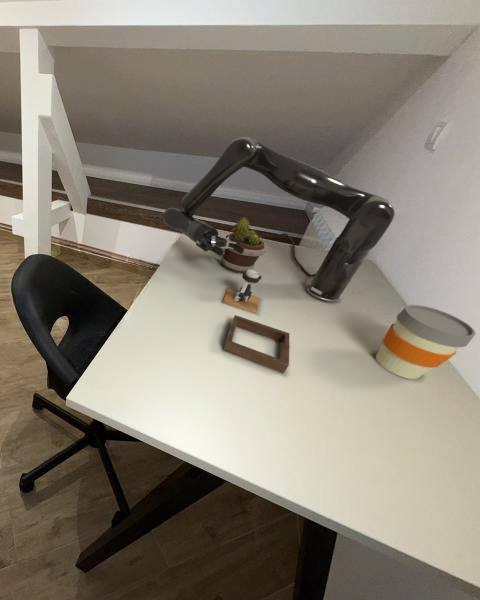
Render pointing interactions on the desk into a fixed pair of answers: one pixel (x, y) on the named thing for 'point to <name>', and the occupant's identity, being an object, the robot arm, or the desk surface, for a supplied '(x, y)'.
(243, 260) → the flowerpot
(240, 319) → the walnut frame
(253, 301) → the cork mat
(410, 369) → the reusable coffee cup
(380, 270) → the desk surface
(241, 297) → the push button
